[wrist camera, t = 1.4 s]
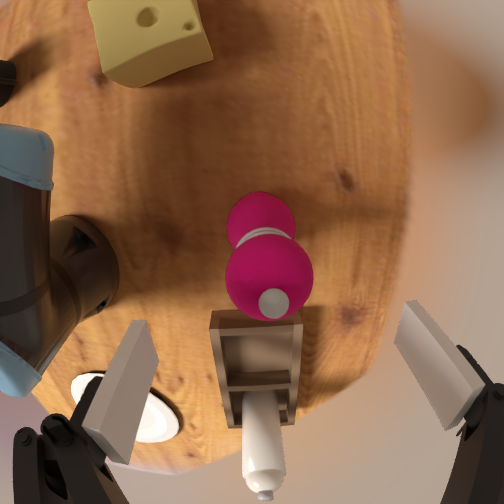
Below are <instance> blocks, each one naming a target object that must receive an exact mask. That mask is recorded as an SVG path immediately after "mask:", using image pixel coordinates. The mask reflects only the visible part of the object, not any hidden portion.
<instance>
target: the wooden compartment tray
mask: <svg viewBox="0 0 504 504" xmlns="http://www.w3.org/2000/svg"><path fill="white" fill-rule="evenodd" d="M209 332H210V338H211V343H212V349H213V355H214V360H215V366H216V371H217V376H218V381H219V387H220V392H221V396H222V401H223V406H224V411H225V416H226V420H227V425H228V428H242V394H243V392H244V391H256V390H272V389H275V390H276V392H277V399H278V407H279V416H280V424H281V426H286V425H294V423H295V414H296V405H297V395H298V385H299V374H300V363H301V350H302V337H303V321H302V318H301V315H300V311H299V310H298V311H296V312H295V313H294V314H292V315H291V316H288V317H286V318H284V319H280V320H276V321H263V320H257V319H254V318H251V317H250V316H248V315H246V314H245V313H243V312H242V311H241V310H229V311H212V315H211V321H210V327H209Z"/></svg>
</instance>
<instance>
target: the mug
mask: <svg viewBox="0 0 504 504" xmlns="http://www.w3.org/2000/svg"><path fill="white" fill-rule="evenodd" d="M16 83H17V81H16V68H15V65H14V64H13V63H12V62H9V61H3V60H0V107H1V106H3V105H4V104H5V103H6V101H7V100H8V98H9V97H10V95H11V93H12V90H13V88H14V85H15V84H16Z"/></svg>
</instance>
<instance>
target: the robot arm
mask: <svg viewBox="0 0 504 504" xmlns="http://www.w3.org/2000/svg"><path fill="white" fill-rule="evenodd" d="M53 158H54V145H53V142H52V139H51V138H50V136H49V135H48V134H46V133H45V132H43V131H40V130H36V129H32V128H27V127H22V126H16V125H9V124H2V123H0V391H1V392H3V393H4V394H6V395H9V396H11V397H15V398H21V397H25V396H27V395H28V394H29V393H30V392H31V390H32V389H33V388H34V387H35V386H36V384H37V383H38V382H40V381H41V379H42V377H41V376H42V375H43V373H44V372H45V370H46V369H47V367H48V366H49V364H50V363H51V361H52V360H53V358H54V357H55V355H56V354H57V352H58V351H59V349H60V348H61V347H62V345H63V344H64V342H65V341H66V339H67V338H68V337H69V335H70V334H71V332H72V331H73V330H74V328H75V327H76V326H77V324H78V323H80V322H82V321H84V320H86V319H88V318H90V317H92V316H94V315H96V314H98V313H99V312H101V311H102V310H103V309H104V308H106V306H107V305H108V304H109V303H110V301H111V300H112V298H113V297H114V295H115V293H116V291H117V288H118V283H119V269H118V264H117V260H116V257H115V254H114V252H113V250H112V248H111V246H110V244H109V242H108V241H107V239H106V238H105V237H104V235H103V234H102V233H101V232H100V231H99V230H98V229H97V228H96V227H95V226H93V225H92V224H91V223H89V222H88V221H86V220H84V219H82V218H79V217H75V216H62V217H58V218H56V219H54V220H52V221H50V202H51V190H53V186H54V183H53V181H52V172H53ZM394 343H395V345H396V346H397V348H398V350H399V351H400V353H401V355H402V356H403V358H404V359H405V361H406V363H407V364H408V366H409V368H410V369H411V371H412V373H413V374H414V376H415V378H416V379H417V381H418V383H419V384H420V386H421V388H422V390H423V391H424V393H425V395H426V397H427V398H428V400H429V402H430V404H431V406H432V407H433V409H434V411H435V413H436V415H437V416H438V418H439V420H440V422H441V424H442V426H443V427H444V430H445V431H446V430H448V429H451V428H453V427H455V426H457V425H458V424H459V423H460V421H461V420H462V419H463V417H464V419H465V420H466V422H465V424H464V425H463V426H462V427H461V429H460V430H459V431H458V433H457V435H456V436H459V434H460V433H461V432H462V435H461V439H460V444H459V447H458V452H457V455H456V459H455V462H454V466H453V469H452V472H451V475H450V478H449V482H448V484H447V487H446V490H445V493H444V495H443V498H442V501H441V503H440V504H504V385H503V384H501V383H495V384H494V383H493V382H492V381H491V380H490V378H489V377H488V376H487V374H486V373H485V372H484V371H483V369H482V368H481V367H480V365H479V364H477V362H476V360H475V359H474V358H473V357H472V355H471V354H470V353H469V352H468V351H467V350H466V349H465V348H463V347H462V346H460V345H457V346H455V345H454V343H453V342H452V341H451V340H450V339H449V337H448V336H447V335H446V334H445V333H444V331H443V330H442V329H441V328H440V327H439V325H438V324H437V323H436V322H435V321H434V320H433V318H432V317H431V316H430V315H429V314H428V313H427V312H426V311H425V309H424V308H423V307H422V306H421V305H420V304H419V303H418V302H417V301H416V300H414V301H407V302H405V303H404V307H403V311H402V315H401V319H400V323H399V326H398V330H397V334H396V337H395V340H394ZM158 363H159V359H158V356H157V353H156V350H155V347H154V344H153V341H152V337H151V334H150V331H149V328H148V324H147V321H146V320H132V322H131V324H130V326H129V328H128V330H127V332H126V333H125V335H124V337H123V339H122V341H121V343H120V345H119V347H118V349H117V351H116V353H115V355H114V357H113V359H112V361H111V363H110V365H109V367H108V369H107V371H106V373H105V375H104V377H101V376H95V377H94V378H93V379H92V380H91V381H90V382H88V384H87V386H86V388H85V390H84V393H83V394H82V396H81V398H80V400H79V402H78V404H77V406H76V408H75V410H74V412H73V414H72V417H71V419H70V421H69V420H68V419H67V418H66V417H65V416H64V415H62V414H58V413H55V414H51V415H49V416H47V417H46V418H45V419H44V420H43V421H42V424H41V432H42V434H43V435H38V434H37V433H36V432H35V431H34V430H33V429H32V428H30V427H24V428H21V429H20V430H18V431H17V433H16V434H15V437H14V444H13V489H14V490H13V491H14V504H129V502H128V501H127V499H126V497H125V496H124V494H123V492H122V491H121V489H120V487H119V486H118V484H117V482H116V481H115V479H114V477H113V475H112V473H111V471H110V469H109V468H108V466H107V464H106V463H105V458H106V455H107V456H108V457H109V459H110V460H111V461H113V462H117V463H122V464H126V465H129V461H130V457H131V454H132V450H133V446H134V442H135V439H136V435H137V432H138V428H139V425H140V421H141V418H142V414H143V411H144V407H145V404H146V401H147V398H148V394H149V391H150V388H151V385H152V381H153V378H154V375H155V372H156V369H157V366H158Z"/></svg>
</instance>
